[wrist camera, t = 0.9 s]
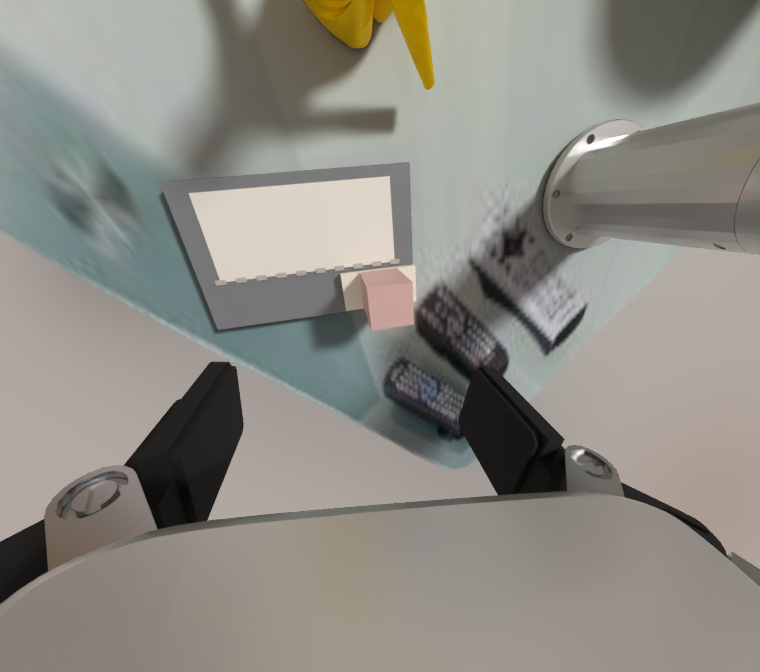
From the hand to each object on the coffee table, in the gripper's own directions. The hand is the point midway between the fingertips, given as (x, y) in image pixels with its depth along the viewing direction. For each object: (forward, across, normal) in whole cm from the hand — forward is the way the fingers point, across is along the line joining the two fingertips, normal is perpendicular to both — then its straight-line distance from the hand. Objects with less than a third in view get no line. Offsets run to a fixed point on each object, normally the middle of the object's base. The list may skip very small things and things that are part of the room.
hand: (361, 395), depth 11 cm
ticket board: (+22, +4, -2) cm, 22 cm away
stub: (+20, -4, +1) cm, 21 cm away
